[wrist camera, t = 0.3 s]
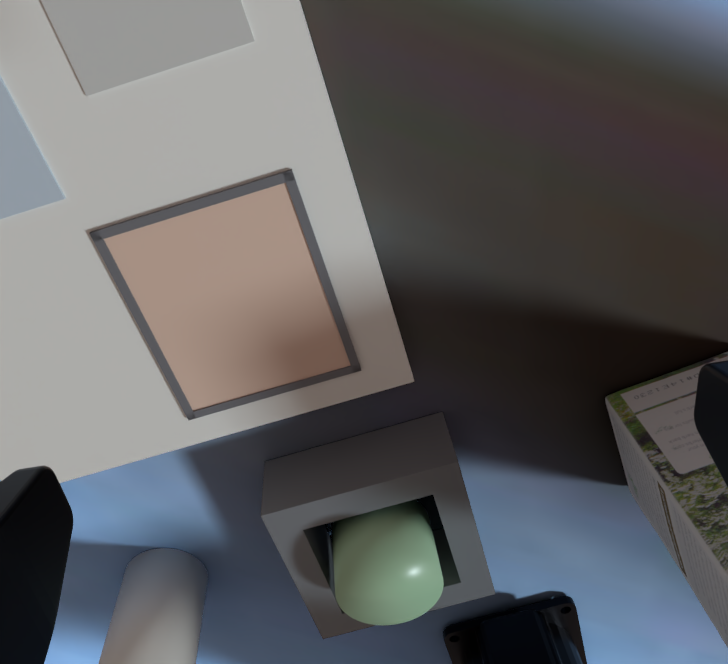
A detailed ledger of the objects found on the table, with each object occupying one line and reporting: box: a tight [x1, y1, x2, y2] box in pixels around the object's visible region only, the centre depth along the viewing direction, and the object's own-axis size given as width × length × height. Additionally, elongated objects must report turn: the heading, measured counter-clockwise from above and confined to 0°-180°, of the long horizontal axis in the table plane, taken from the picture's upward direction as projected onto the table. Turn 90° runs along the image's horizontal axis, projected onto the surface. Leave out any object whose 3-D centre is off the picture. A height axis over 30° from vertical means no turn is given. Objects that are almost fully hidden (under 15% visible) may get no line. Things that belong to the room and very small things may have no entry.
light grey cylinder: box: [99, 548, 208, 664], centre depth 26 cm, size 4×4×8 cm
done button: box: [332, 499, 444, 625], centre depth 26 cm, size 4×4×3 cm
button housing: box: [261, 412, 495, 639], centre depth 27 cm, size 7×7×3 cm
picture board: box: [0, 0, 414, 483], centre depth 21 cm, size 20×16×1 cm
